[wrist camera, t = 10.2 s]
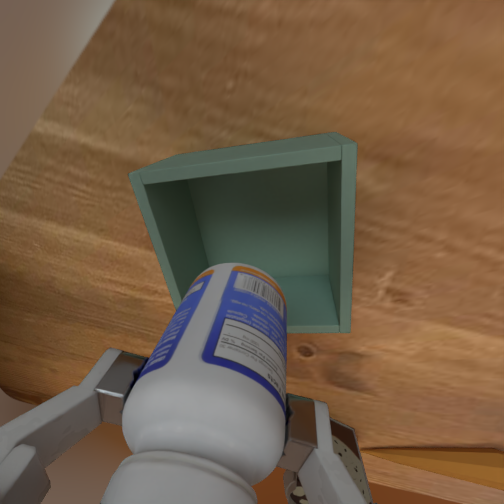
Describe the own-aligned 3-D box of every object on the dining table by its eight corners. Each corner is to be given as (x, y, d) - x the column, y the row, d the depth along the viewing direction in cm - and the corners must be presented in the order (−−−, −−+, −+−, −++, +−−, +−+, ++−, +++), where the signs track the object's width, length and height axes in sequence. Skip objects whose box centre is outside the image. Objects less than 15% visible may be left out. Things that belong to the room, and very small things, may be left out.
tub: (209, 282, 29) (184, 334, 23) (175, 154, 23) (127, 173, 16) (335, 276, 27) (350, 333, 20) (336, 131, 21) (357, 142, 14)
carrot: (507, 441, 36) (530, 471, 32) (508, 471, 37) (531, 504, 32) (353, 425, 43) (355, 448, 38) (355, 451, 43) (358, 476, 39)
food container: (269, 417, 40) (262, 503, 31) (291, 398, 37) (291, 487, 28) (335, 448, 42) (347, 538, 33) (362, 433, 39) (382, 526, 30)
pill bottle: (208, 339, 16) (118, 584, 8) (177, 265, 14) (3, 504, 6) (295, 332, 15) (300, 615, 7) (278, 251, 13) (251, 528, 4)
